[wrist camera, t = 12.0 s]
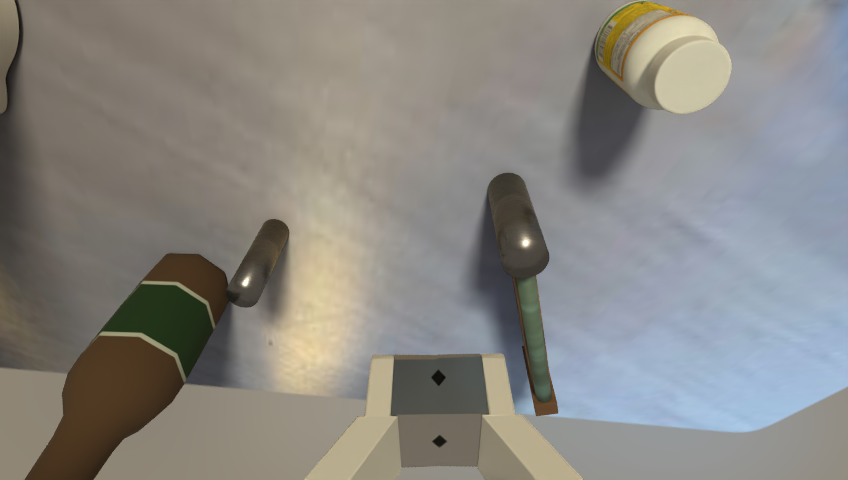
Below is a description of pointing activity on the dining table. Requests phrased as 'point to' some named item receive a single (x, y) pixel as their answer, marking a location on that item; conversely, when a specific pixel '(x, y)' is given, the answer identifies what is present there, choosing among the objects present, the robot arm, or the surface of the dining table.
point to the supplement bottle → (662, 57)
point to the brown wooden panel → (534, 345)
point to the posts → (511, 222)
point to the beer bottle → (134, 365)
